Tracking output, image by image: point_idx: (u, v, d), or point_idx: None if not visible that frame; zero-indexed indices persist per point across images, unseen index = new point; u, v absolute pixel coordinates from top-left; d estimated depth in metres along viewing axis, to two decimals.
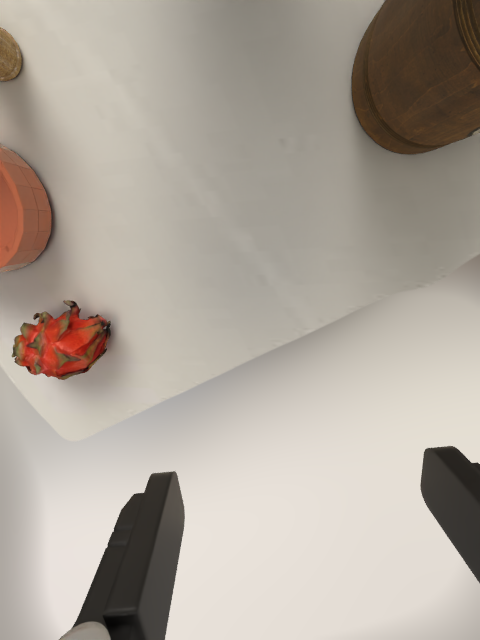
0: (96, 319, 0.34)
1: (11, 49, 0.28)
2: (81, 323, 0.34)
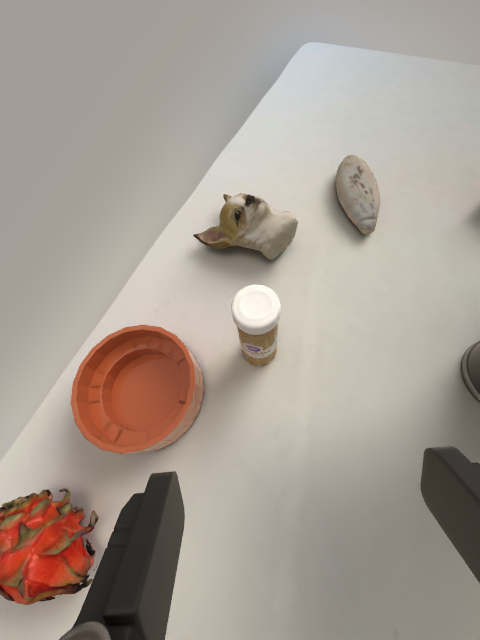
0: (87, 565, 0.28)
1: (268, 359, 0.37)
2: (74, 553, 0.28)
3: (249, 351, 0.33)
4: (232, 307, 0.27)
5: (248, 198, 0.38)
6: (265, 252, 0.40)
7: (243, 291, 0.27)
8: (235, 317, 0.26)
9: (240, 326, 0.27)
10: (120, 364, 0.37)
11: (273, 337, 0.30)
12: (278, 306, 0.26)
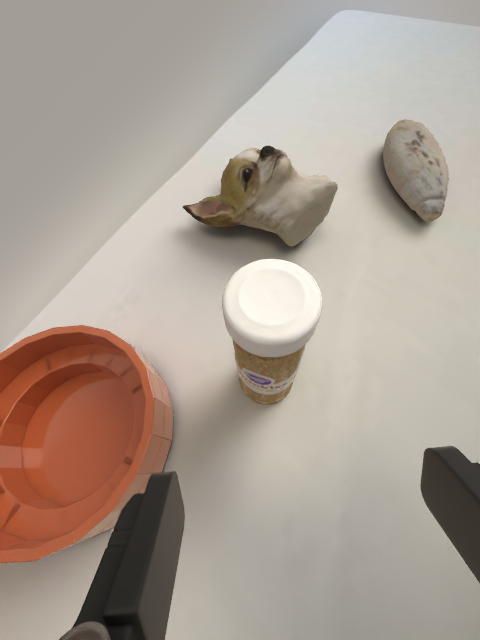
0: None
1: (280, 395, 0.23)
2: None
3: (251, 382, 0.19)
4: (224, 298, 0.13)
5: (265, 148, 0.26)
6: (284, 232, 0.27)
7: (249, 269, 0.14)
8: (228, 318, 0.13)
9: (237, 338, 0.13)
10: (45, 385, 0.24)
11: (296, 363, 0.17)
12: (318, 302, 0.13)
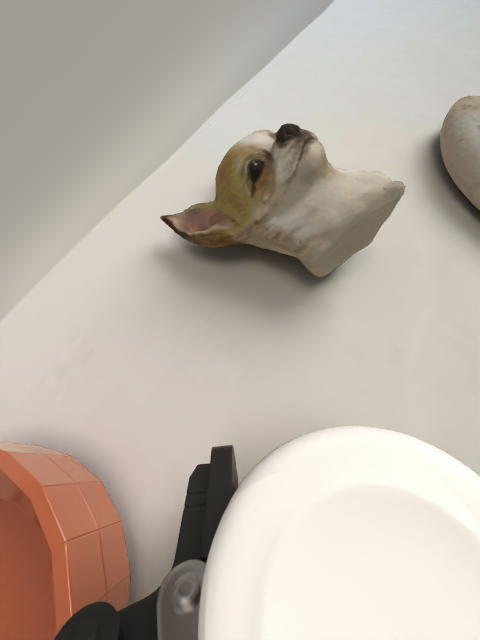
0: None
1: None
2: None
3: None
4: (205, 625, 0.03)
5: (285, 127, 0.16)
6: (313, 260, 0.17)
7: (294, 483, 0.04)
8: None
9: None
10: None
11: None
12: None
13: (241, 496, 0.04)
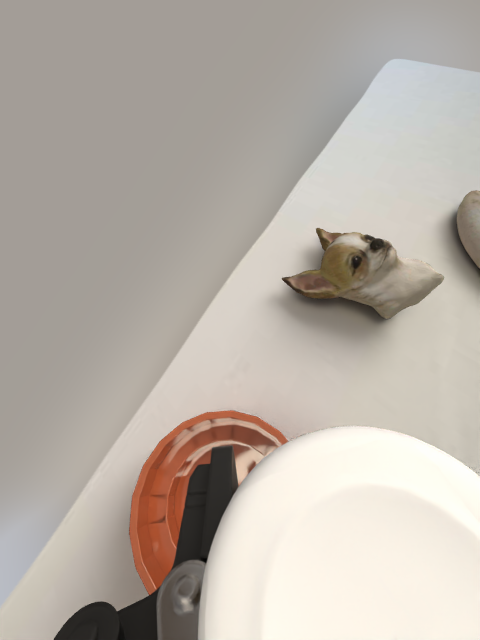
0: None
1: None
2: None
3: None
4: (205, 625, 0.03)
5: (376, 241, 0.29)
6: (387, 312, 0.30)
7: (294, 484, 0.04)
8: None
9: None
10: (190, 458, 0.27)
11: None
12: None
13: (241, 496, 0.04)
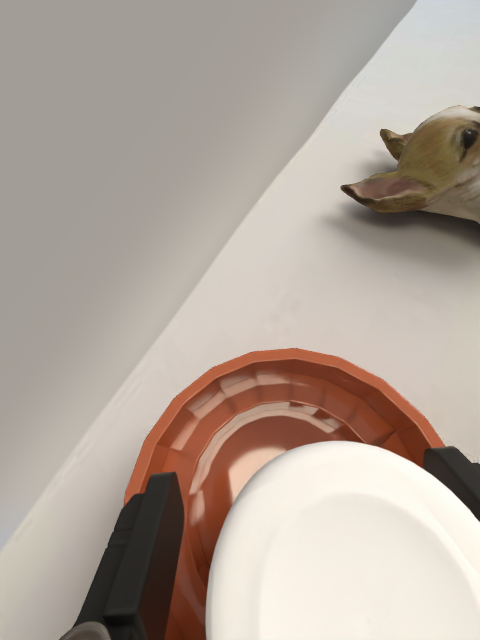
0: None
1: None
2: None
3: None
4: (212, 610, 0.04)
5: None
6: None
7: (286, 491, 0.05)
8: None
9: None
10: (221, 432, 0.17)
11: None
12: None
13: (241, 502, 0.05)
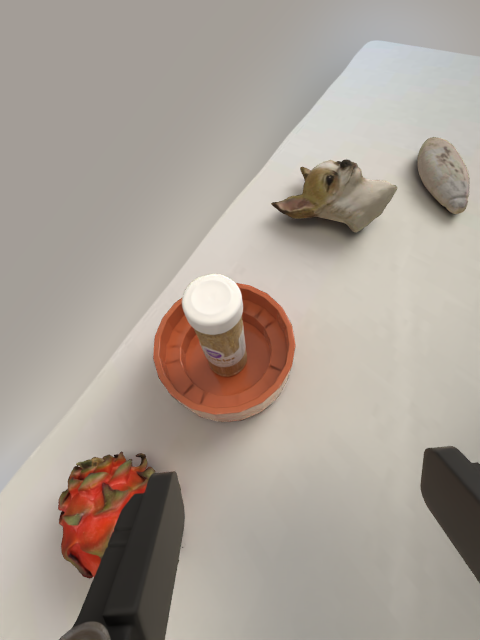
0: None
1: (235, 369, 0.31)
2: None
3: (210, 357, 0.28)
4: (183, 298, 0.22)
5: (344, 161, 0.36)
6: (355, 221, 0.38)
7: (199, 280, 0.22)
8: (184, 310, 0.21)
9: (190, 322, 0.22)
10: None
11: (236, 341, 0.25)
12: (238, 301, 0.21)
13: (190, 284, 0.22)
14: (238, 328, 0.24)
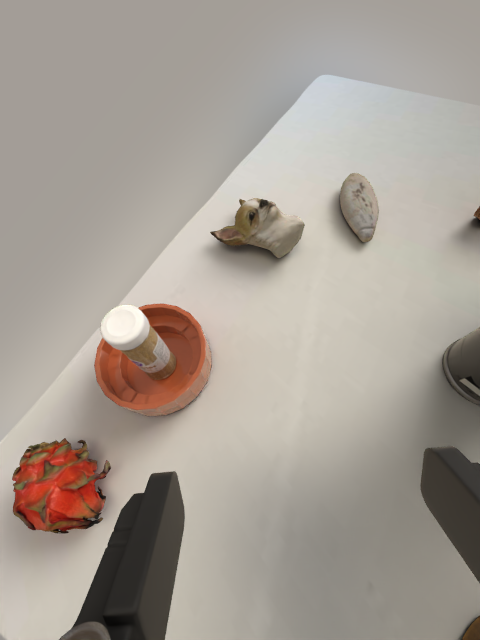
0: (99, 504, 0.31)
1: (164, 374, 0.39)
2: (89, 493, 0.31)
3: (137, 365, 0.36)
4: (101, 323, 0.29)
5: (262, 201, 0.44)
6: (274, 250, 0.45)
7: (114, 310, 0.30)
8: (101, 333, 0.29)
9: (106, 341, 0.29)
10: None
11: (151, 354, 0.33)
12: (141, 326, 0.29)
13: (108, 312, 0.30)
14: (149, 344, 0.32)
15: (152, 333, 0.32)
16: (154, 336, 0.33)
